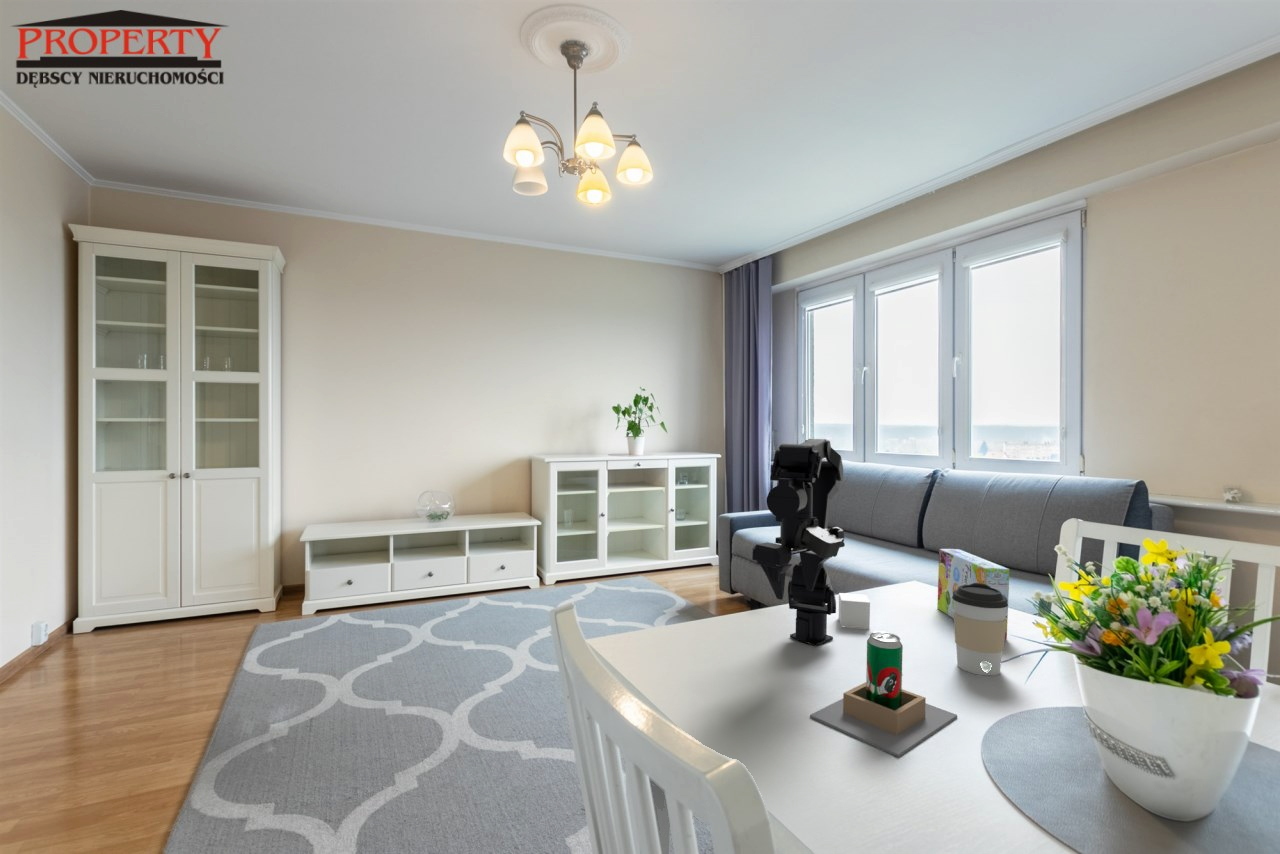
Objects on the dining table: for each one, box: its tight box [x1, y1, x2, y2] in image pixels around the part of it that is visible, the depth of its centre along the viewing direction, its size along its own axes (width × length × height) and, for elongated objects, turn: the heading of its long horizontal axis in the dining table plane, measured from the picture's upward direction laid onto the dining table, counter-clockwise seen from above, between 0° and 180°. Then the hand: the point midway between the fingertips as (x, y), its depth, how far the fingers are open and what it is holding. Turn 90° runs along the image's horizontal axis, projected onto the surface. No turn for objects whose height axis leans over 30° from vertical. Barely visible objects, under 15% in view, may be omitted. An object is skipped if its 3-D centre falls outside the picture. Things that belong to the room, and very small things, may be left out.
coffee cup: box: [952, 583, 1009, 676], centre depth 112 cm, size 9×9×15 cm
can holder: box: [809, 681, 958, 758], centre depth 92 cm, size 18×14×3 cm
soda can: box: [865, 631, 904, 711], centre depth 93 cm, size 5×5×12 cm
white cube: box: [838, 592, 871, 630], centre depth 136 cm, size 6×6×6 cm
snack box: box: [937, 548, 1010, 640], centre depth 138 cm, size 21×6×15 cm, turn 179°
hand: (795, 594), depth 112 cm, fingers open, 9 cm apart
